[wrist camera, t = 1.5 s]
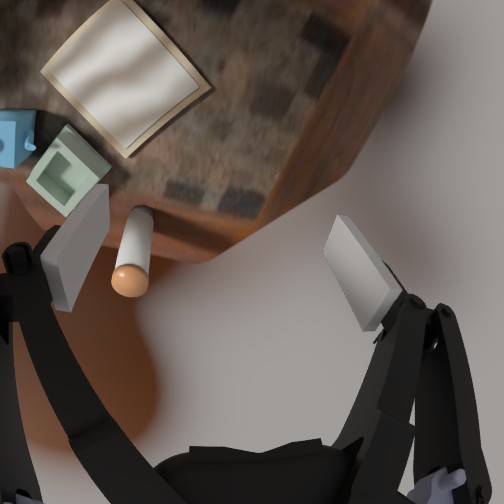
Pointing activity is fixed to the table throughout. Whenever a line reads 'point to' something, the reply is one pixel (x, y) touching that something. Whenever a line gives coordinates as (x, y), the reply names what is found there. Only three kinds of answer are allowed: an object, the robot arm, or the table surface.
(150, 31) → the sketch pad
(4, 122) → the blue pegged block
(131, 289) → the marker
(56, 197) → the pen stand
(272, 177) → the table surface
